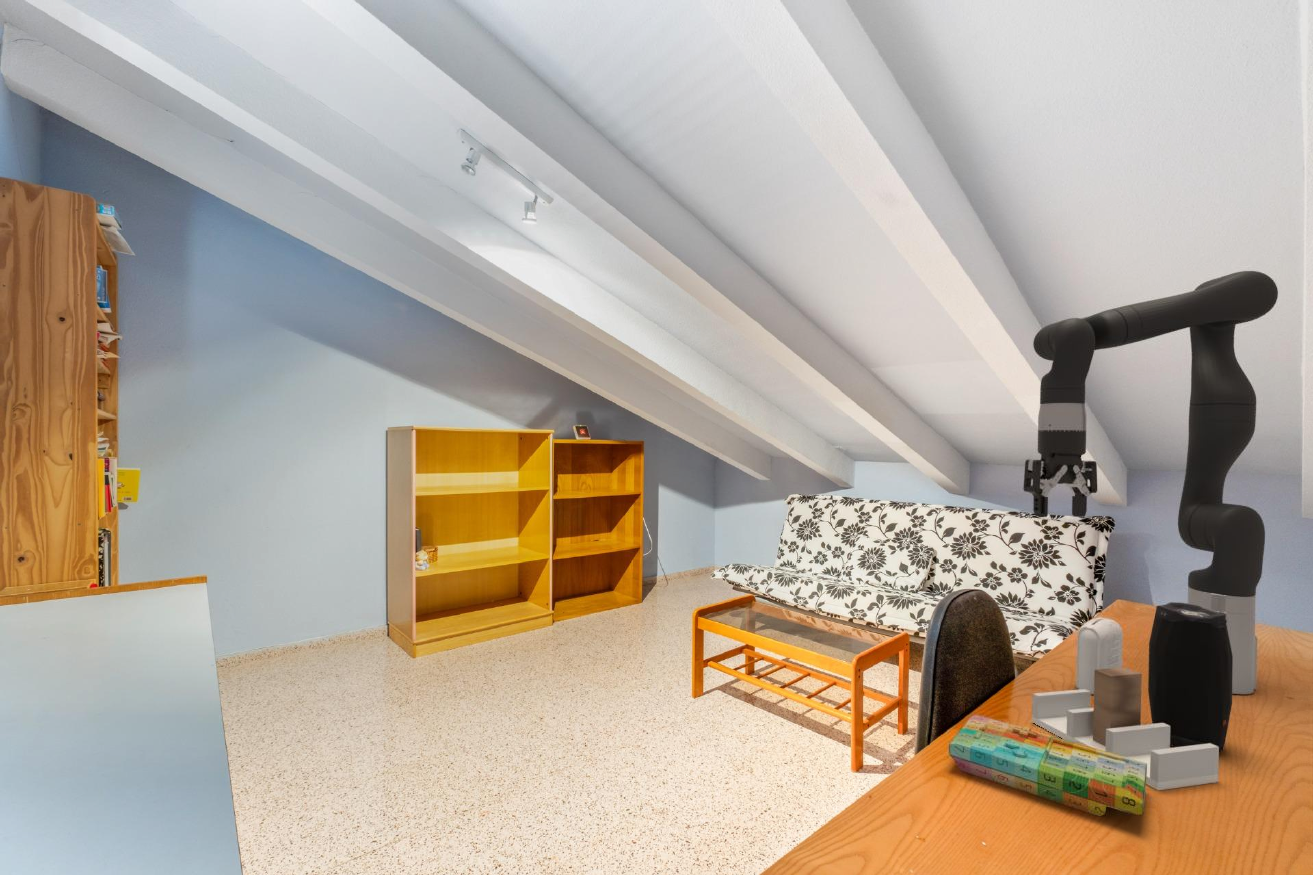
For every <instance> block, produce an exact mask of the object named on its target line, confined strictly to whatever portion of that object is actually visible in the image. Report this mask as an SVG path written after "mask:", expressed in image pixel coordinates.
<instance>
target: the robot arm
mask: <svg viewBox="0 0 1313 875" xmlns="http://www.w3.org/2000/svg"><path fill="white" fill-rule="evenodd" d="M1278 295H1279V291H1278V286H1277V284H1276V282H1275V281H1274V279H1273V278H1271V276H1269V275H1268V274H1266V273H1263V272H1261V271H1257V270H1243V271H1237V272H1233V273H1230V274H1226V275H1224V276H1221V277H1216V278H1214V279H1213V278H1212V279H1210V280H1207V281H1205V282H1203V283H1201V284H1199V285H1198V286H1197V287H1195V289H1194V290H1192V291H1187V292H1184V293H1180V294H1177V295H1171V296H1167V297H1162V298H1158V299H1157V298H1155V299H1152V300H1147V301H1142V302H1137V303H1132V304H1128V305H1122V306H1119V307H1115V308H1111V309H1106V310H1103V311H1100V312H1098V313H1094V314H1092V315H1089V316H1085V317H1082V318H1080V317H1071V318H1067V319H1066V318H1065V319H1062V320H1060V321H1057V322H1054V323H1050V324H1048V325H1046V326H1044V327H1042V328H1040V330H1039V331H1038V332H1037V333H1036V334H1035V336H1034V338H1033V342H1032V343H1033V344H1032V345H1033V349H1034V351H1035V353H1036V354H1037V355H1038V356H1039V357H1040V358H1042V359H1044V360H1047V361H1052V364H1051V368H1050V370H1049V371H1048V372H1047V373H1045V374H1044V375H1043V377H1042V378H1041V380H1040V387H1039V388H1040V390H1039V393H1040V394H1039V396H1040V397H1039V410H1038V414H1037V415H1038V416H1037V419H1038V420H1037V452H1038V454H1040V459H1026V460H1025V463H1024V474H1023V475H1024V477H1023V487H1022V489H1023V491H1024V493H1025V492H1026V493H1027V492H1028V493H1030V495H1032V496H1033V503H1032V504H1033V508H1032V511H1033V514H1034V516H1035V517H1039V518H1047V517H1048V514H1049V511H1048V510H1049V497H1048V495H1049V493H1050V492H1051V490H1052V489H1053V488H1055V487H1056V486H1057V485H1062V484H1065V486H1066V487H1069V489H1070V491H1071V492H1072V494H1073V495H1072V496H1071V498H1072V499H1071V515H1072V516H1073V517H1079V518H1084V517H1086V514H1087V512H1088V510H1087V509H1088V507H1087V506H1088V505H1087V504H1088V502H1087V501H1088V496H1090V495H1091V494H1096V493H1098V469H1097V468H1098V463H1097V461H1096V460H1082V456H1083V455H1086V454H1087V410H1086V380H1087V376H1088V375H1089V371H1090V368H1091V364H1092V360H1093V358H1094V353H1095V351H1097V350H1105V349H1113V348H1116V347H1117V348H1119V347H1122V346H1126V345H1129V344H1134V343H1139V342H1142V341H1146V340H1150V339H1152V338H1156V337H1159V336H1163V335H1166V334H1170V333H1173V332H1178V331H1180V330H1184V329H1187V328H1189V335H1190V346H1191V347H1190V348H1191V367H1190V368H1191V370H1190V371H1191V372H1190V373H1191V374H1190V397H1189V408H1188V409H1189V410H1188V443H1187V455H1186V465H1185V466H1186V468H1185V475H1184V482H1183V487H1182V492H1181V497H1180V502H1179V508H1178V509H1179V510H1178V515H1177V516H1178V517H1177V528H1178V529H1177V530H1178V534H1179V536H1180V538H1181V540H1182V541H1183V543H1185V545H1187V546H1188V547H1190V548H1192V549H1195V550H1198V551H1199V550H1200V551H1205V552H1211V553H1212V560H1211V564H1210V565H1209V566H1207V567H1206V568H1201V569H1196V570H1195V569H1194V570H1192V571H1190V572H1189V573H1188V577H1187V586H1188V587H1187V604H1192V605H1198V606H1200V607H1202V608H1204V609H1207V610H1210V611H1213V612H1216V613H1219V612H1221V613H1225V614H1226V620H1227V623H1226V625H1227V630H1228V635H1229V640H1230V645H1231V650H1232V655H1233V669H1232V695H1235V694H1236V695H1251V694H1253V693H1254V690H1257V681H1258V680H1257V679H1258V678H1257V674H1258V673H1257V672H1258V637H1257V636H1256V599H1257V598H1256V597H1257V596H1256V595H1257V592H1256V591H1257V586H1258V585H1259V583H1260V580H1261V578H1262V575H1263V563H1264V553H1265V544H1266V529H1265V525H1264V524H1265V523H1264V520H1263V518H1262V517H1261V515H1260V514H1259V513H1258V511H1257V510H1255V509H1254V508H1252V507H1250V506H1246V505H1243V504H1235V503H1233V504H1232V503H1224V502H1223V500H1224V499H1223V497H1224V486H1225V481H1226V478H1227V475H1228V473H1229V472H1230V470H1231V468H1232V466H1234V464H1235V462H1236V461H1237V460H1238V458H1239V457H1240V456H1241V454H1242V453H1243V452H1244V450H1245V449H1246V447H1248V445H1249V444H1250V442H1251V441H1252V438H1253V437H1254V433H1255V431H1256V424H1257V423H1256V422H1257V420H1256V419H1257V396H1256V391H1255V390H1254V386H1253V385H1252V383H1251V382H1250V380H1249V378H1248V376H1247V375H1246V373H1245V372H1244V370H1243V369H1242V367H1241V365H1240V363H1239V361H1238V359H1237V356H1236V353H1235V331H1236V330H1235V329H1236V326H1237V325H1239V324H1245V323H1248V322H1251V321H1255V320H1257V319H1260V318H1261V317H1263V316H1265V315H1266V314H1268V313H1269V312H1271V310H1272V309H1273V308H1274V307H1275V305H1276V303H1277V301H1278V297H1279V296H1278ZM1088 481H1089V482H1088Z"/></svg>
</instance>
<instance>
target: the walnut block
mask: <svg viewBox="0 0 1313 875" xmlns="http://www.w3.org/2000/svg"><path fill="white" fill-rule="evenodd" d="M1142 674H1143V673H1141V672H1138V671H1136V670H1134V669H1131V668H1128V667H1125V666H1122V667H1120V668H1109V669H1098V670H1094V695H1093V708H1094V711H1093V740H1094V741H1096V742H1098V743H1100V744H1102V745H1104V746H1106V729H1110V728H1119V727H1128V726H1138V725H1142V723H1141V720H1142V716H1141V715H1142V713H1141V711H1142V678H1143V677H1142Z"/></svg>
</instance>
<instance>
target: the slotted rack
mask: <svg viewBox="0 0 1313 875" xmlns="http://www.w3.org/2000/svg"><path fill="white" fill-rule="evenodd" d="M1091 696H1092V694H1091V691H1088V690H1086V689H1080V690H1079V689H1071V690H1059V691H1058V690H1057V691H1049V692H1048V691H1047V692H1037V693H1036V692H1035V693H1032V707H1031V708H1032V709H1031V710H1032V711H1031V712H1032V716H1031V718H1032V719H1031V723H1032V724H1033V723H1035V724H1036V725H1035V724H1034V725H1035V726H1037V725H1039V726H1040V727H1039V726H1038V727H1039V728H1041V727H1043V728H1044V729H1043V728H1042V729H1043V730H1045V729H1046V730H1047V731H1046V730H1045V731H1046V732H1048V731H1049V733H1050V732H1052V733H1053V734H1052V733H1051V734H1052V735H1054V734H1055V735H1054V736H1056V735H1057V736H1056V737H1058V736H1060V737H1061V738H1063V739H1065V740H1068V741H1071V742H1075V743H1078V744H1082V745H1085V746H1089V747H1092V748H1096V749H1099V750H1103V751H1106V752H1110V753H1113V754H1117V755H1120V756H1124V757H1127V758H1131V759H1134V760H1138V761H1141V762H1145V763H1147V775H1146V786H1149V787H1150V788H1153V789H1155V790H1156V791H1165V790H1172V789H1179V788H1184V787H1192V786H1193V787H1194V786H1199V785H1206V784H1212V783H1213V784H1214V783H1219V760H1220V759H1219V757H1220V755H1219V754H1220V752H1219V751H1220V750H1219V747H1218V746H1216V745H1213V744H1211V743H1208V744H1200V745H1192V746H1183V747H1175V748H1174V747H1171V744H1170V726H1169V725H1167V724H1165V723H1156V724H1152V723H1150V724H1149V723H1147V724H1141V725H1138V726H1128V727H1119V728H1110V729H1106V746H1104V745H1102V744H1100V743H1098V742H1096V741H1094V740H1093V711H1094V707H1091Z"/></svg>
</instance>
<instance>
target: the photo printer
mask: <svg viewBox="0 0 1313 875" xmlns="http://www.w3.org/2000/svg"><path fill="white" fill-rule="evenodd" d="M1123 636H1124V635H1123V629H1122V627H1121V625H1120V624H1119V623H1118V622H1116V621H1115V620H1113V619H1111V618H1106V617H1095V618H1092V619H1090V620H1088V621H1086V622H1085V623H1084V624H1082V626H1080V628H1079V630H1078V631H1077V636H1076V638H1077V641H1076V645H1077V646H1076V673H1075V674H1076V677H1075V678H1076V679H1075V686H1076V688H1077V689H1078V690H1080V689H1086V690H1088V691H1091V695H1093V696H1094V670H1098V669H1109V668H1120V667H1123Z"/></svg>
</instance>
